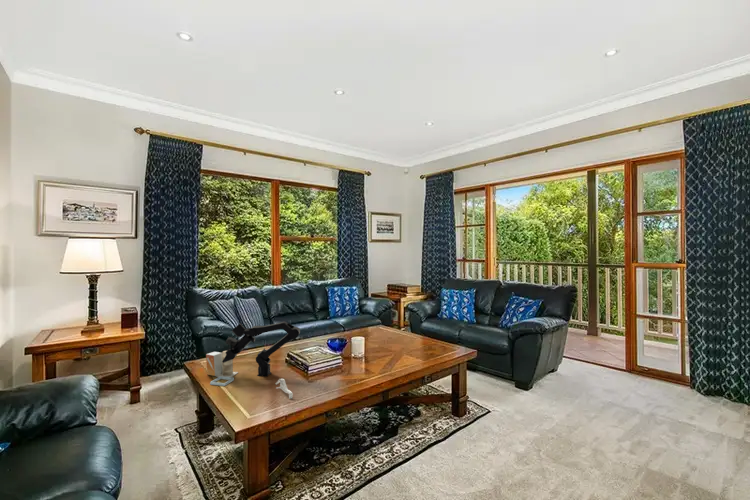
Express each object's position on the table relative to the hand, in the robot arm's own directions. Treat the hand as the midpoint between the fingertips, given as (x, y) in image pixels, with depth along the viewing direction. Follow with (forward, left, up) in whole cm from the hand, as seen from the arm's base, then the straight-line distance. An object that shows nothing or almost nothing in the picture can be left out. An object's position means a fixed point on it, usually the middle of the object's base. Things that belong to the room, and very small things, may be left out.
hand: (225, 359), depth 223 cm
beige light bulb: (-1, 0, -9) cm, 9 cm away
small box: (+7, +1, -9) cm, 12 cm away
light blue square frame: (-5, +11, -10) cm, 16 cm away
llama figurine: (-48, +17, -10) cm, 52 cm away
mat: (-1, 0, -10) cm, 10 cm away
